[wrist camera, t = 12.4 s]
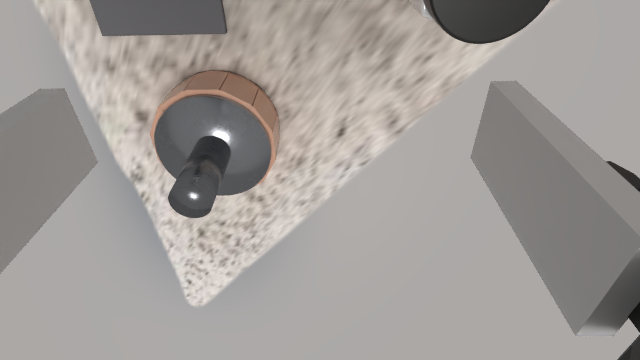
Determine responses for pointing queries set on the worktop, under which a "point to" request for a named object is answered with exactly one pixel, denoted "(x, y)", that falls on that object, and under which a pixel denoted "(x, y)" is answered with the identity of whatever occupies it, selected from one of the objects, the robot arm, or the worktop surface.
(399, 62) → the worktop surface
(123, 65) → the worktop surface
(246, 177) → the lid
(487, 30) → the jar
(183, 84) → the bowl
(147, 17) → the mat
